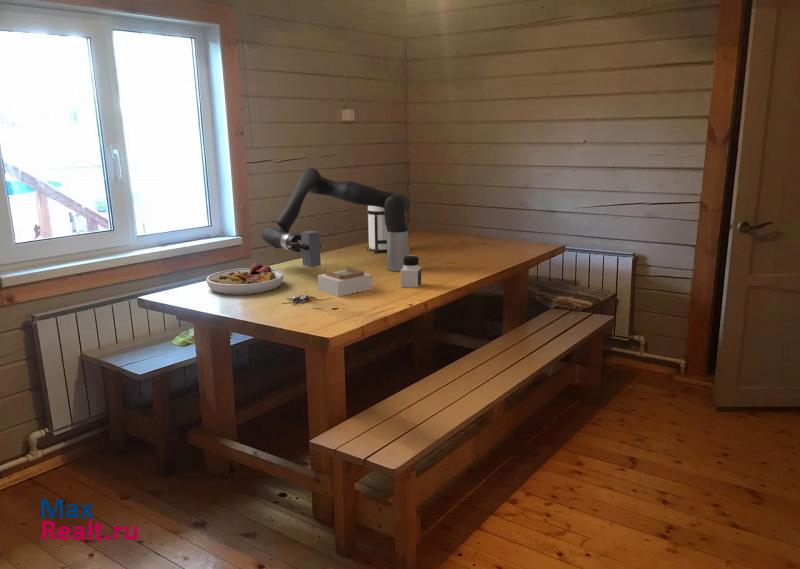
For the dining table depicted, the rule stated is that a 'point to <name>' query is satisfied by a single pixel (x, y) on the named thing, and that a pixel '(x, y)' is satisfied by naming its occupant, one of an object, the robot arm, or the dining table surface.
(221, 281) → the bowl
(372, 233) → the coffee press
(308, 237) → the grey tall block
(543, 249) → the dining table surface
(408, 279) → the medicine bottle
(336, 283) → the stand
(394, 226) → the robot arm
